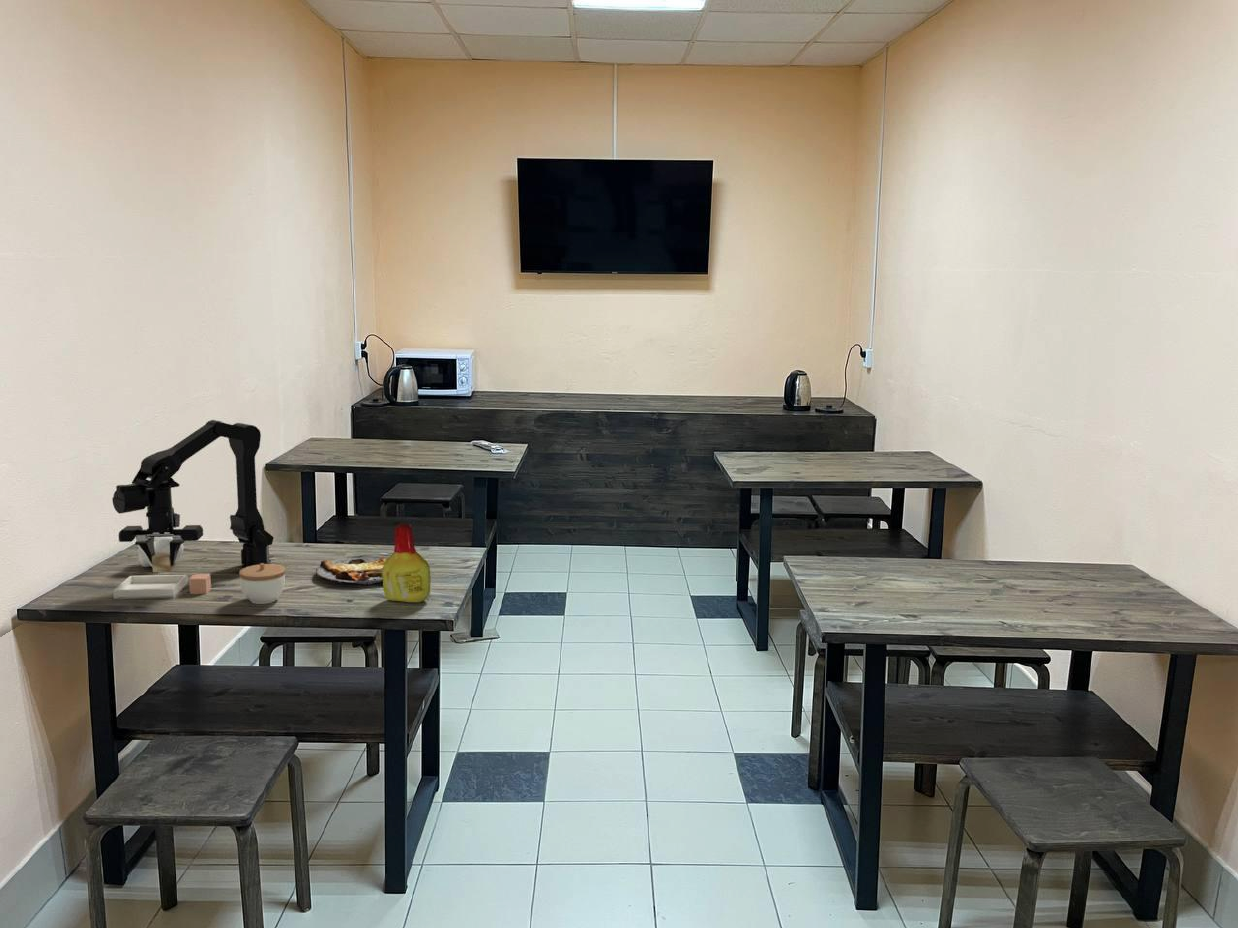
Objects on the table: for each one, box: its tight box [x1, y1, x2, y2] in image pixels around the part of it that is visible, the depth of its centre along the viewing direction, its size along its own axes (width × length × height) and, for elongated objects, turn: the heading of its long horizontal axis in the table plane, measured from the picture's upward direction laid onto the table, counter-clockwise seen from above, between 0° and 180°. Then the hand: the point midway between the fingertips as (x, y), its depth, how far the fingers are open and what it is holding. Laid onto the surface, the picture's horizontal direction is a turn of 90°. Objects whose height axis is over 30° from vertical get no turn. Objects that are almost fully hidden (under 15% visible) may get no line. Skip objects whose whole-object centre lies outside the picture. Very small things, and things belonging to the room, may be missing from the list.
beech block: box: [152, 552, 175, 573], centre depth 245 cm, size 4×4×4 cm
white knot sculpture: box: [137, 533, 184, 568], centre depth 263 cm, size 11×12×9 cm
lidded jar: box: [238, 563, 286, 605], centre depth 239 cm, size 11×11×9 cm
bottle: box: [381, 523, 431, 603], centre depth 240 cm, size 12×6×20 cm, turn 83°
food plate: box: [315, 554, 390, 586], centre depth 262 cm, size 25×23×4 cm
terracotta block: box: [188, 573, 212, 595], centre depth 244 cm, size 4×4×4 cm
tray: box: [112, 574, 189, 600], centre depth 244 cm, size 14×12×2 cm
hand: (163, 565), depth 245 cm, fingers closed on beech block, 4 cm apart
